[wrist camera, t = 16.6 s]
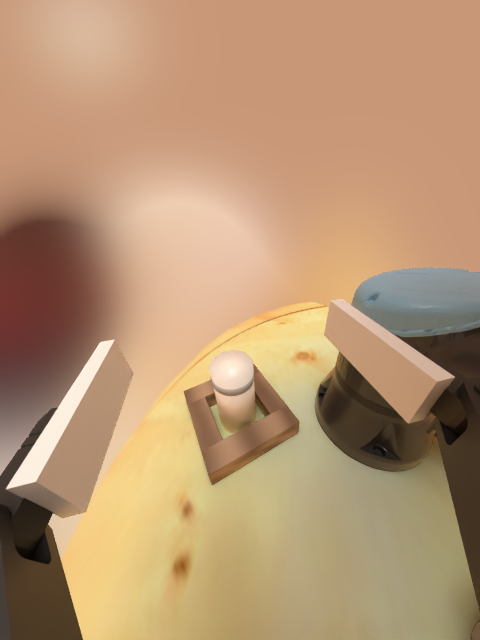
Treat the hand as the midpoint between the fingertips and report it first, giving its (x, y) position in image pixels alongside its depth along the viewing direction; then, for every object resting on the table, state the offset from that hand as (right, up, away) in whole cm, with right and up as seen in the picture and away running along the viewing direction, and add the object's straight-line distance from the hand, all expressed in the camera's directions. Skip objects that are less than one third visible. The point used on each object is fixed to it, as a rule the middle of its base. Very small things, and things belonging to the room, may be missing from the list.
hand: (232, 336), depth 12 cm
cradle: (0, -15, +21) cm, 26 cm away
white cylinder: (0, -15, +21) cm, 26 cm away
